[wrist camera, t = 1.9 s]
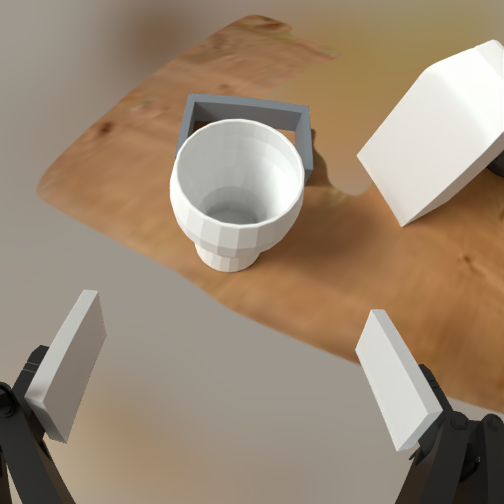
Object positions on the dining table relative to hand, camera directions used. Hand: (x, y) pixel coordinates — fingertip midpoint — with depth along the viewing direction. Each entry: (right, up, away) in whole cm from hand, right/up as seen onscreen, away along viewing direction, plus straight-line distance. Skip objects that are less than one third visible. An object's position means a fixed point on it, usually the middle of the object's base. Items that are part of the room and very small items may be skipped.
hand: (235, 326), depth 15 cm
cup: (-2, +5, +22) cm, 23 cm away
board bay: (0, +18, +26) cm, 32 cm away
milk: (+23, +14, +28) cm, 40 cm away
